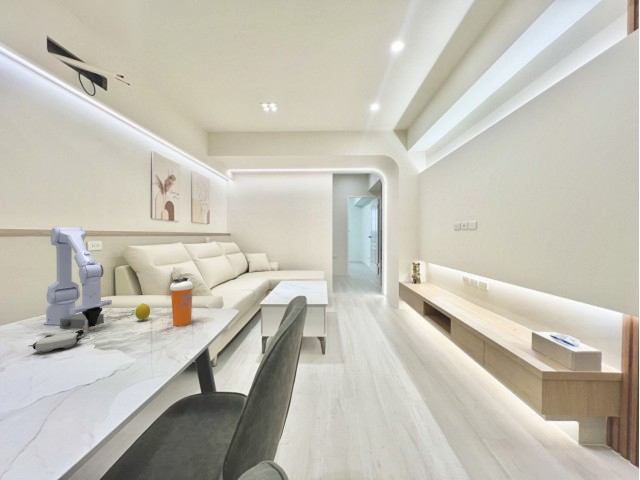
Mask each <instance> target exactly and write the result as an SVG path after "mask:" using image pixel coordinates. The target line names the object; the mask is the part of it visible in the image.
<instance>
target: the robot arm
mask: <svg viewBox="0 0 640 480" xmlns="http://www.w3.org/2000/svg"><path fill="white" fill-rule="evenodd" d="M85 238H86V230H85V229H84V228H83V227H82V226H81V227H69V226H68V227H63V226H62V227H61V226H59V227H58V226H54V227H52V229H51V230H50V245H52V246H55V249H56V282H54V283H52V284H51V285H50V286H48V287H47V293H46V297H45V298H46V301H47V303H48V304H49V305H47V307H46V309H45V317H46V318H45V319H46V320H45V321H46V322H45V323H44V324H43V325H51V326H60V319H62V318H65V317H69V316H72V315H76V314H79V313H83V314H84V316H85V317H86V318H87V320H88V323H89V326H90V328H95V327H96V326H97V325H96V322H97V319H98V316H99V315H100V314H102V313H101V312H102V311H103V307H105V306H110V305H112V304H113V301H112V299H107V300H102V285H101V284H102V283H101V282H102V281H101V279H102V277H104V273H105V272H104V266H103V264H101V263H100V262H98V261H96V259H95V257H94V255H93V253H92V252H91V251H90V250H89V251H88V250H87V248H86V244H85V242H84V241H85ZM72 250H73V252H74V253H75V255H74V257H72V254H73V253H72ZM72 259H74V261H75V263H76V264H77V267H78V276H79V277H78V278H79V282H80V284H81V290H80V285H79V283H78V282H75V281H73V275H72V274H73V270H72V269H73V268H72V267H73V263H72V261H73V260H72ZM80 297H82V299H81V302H82V303H81V304H82V305H79V306H76V302H77V301H78V300H79V299H80Z"/></svg>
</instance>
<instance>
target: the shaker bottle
mask: <svg viewBox="0 0 640 480" xmlns="http://www.w3.org/2000/svg"><path fill="white" fill-rule="evenodd" d="M172 281H173V282H172V283H171V284H170V286H169V290H170V296H171V297H170V299H171V311H172V313H171V314H172V323H173V326H174V327H182V326H183V327H184V326H187V325H189V324H191V323H192V315H193V314H192V312H193V311H192V310H193V289H194V283H193V282H192V278H190V277H182V278H174V279H172Z"/></svg>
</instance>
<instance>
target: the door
mask: <svg viewBox="0 0 640 480" xmlns="http://www.w3.org/2000/svg"><path fill="white" fill-rule="evenodd" d="M82 330H83V331H84V330H86V332H85V333H84V334H85V335H86V334H88V332H89V331H88V330H89V328H88V320H87V319H86V320H85V326H83V329H82Z"/></svg>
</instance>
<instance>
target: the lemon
mask: <svg viewBox="0 0 640 480" xmlns="http://www.w3.org/2000/svg"><path fill="white" fill-rule="evenodd" d="M150 308H151V307H150V306H149V305H148V304H145V303H140V304H139V305H138V306H136V309H135V317H136V318H137V319H138V320H141V321H142V322H143V321H145V320H146V319H148V317H150V315H151V309H150Z"/></svg>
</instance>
